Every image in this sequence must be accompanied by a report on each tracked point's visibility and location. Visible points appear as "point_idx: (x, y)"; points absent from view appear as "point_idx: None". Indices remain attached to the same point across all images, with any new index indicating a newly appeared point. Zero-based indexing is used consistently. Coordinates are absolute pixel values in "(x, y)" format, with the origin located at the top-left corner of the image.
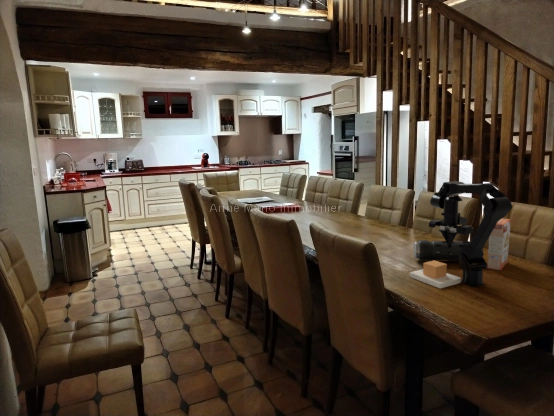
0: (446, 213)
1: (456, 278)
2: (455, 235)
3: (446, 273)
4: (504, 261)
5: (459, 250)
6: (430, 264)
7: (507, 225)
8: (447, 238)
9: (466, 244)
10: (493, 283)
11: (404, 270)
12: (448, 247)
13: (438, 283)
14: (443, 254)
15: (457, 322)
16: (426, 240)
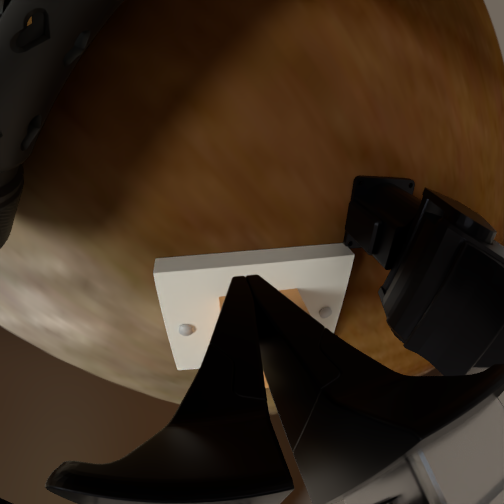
0: None
1: (344, 276)
2: (377, 373)
3: (300, 296)
4: None
5: (414, 351)
6: (266, 383)
7: None
8: (277, 409)
9: (476, 359)
10: (425, 142)
11: (101, 331)
12: (39, 49)
13: None
14: (54, 96)
15: (408, 375)
16: None
